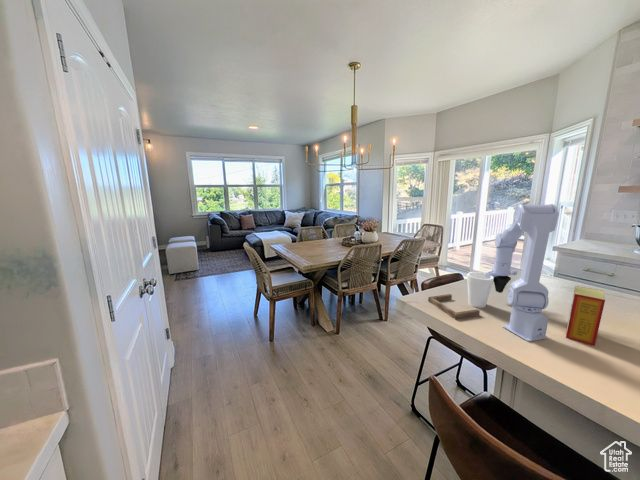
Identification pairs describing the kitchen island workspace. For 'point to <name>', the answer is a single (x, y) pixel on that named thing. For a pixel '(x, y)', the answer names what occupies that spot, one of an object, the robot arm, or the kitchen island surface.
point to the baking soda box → (585, 315)
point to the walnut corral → (455, 315)
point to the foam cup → (478, 288)
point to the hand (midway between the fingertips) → (498, 291)
